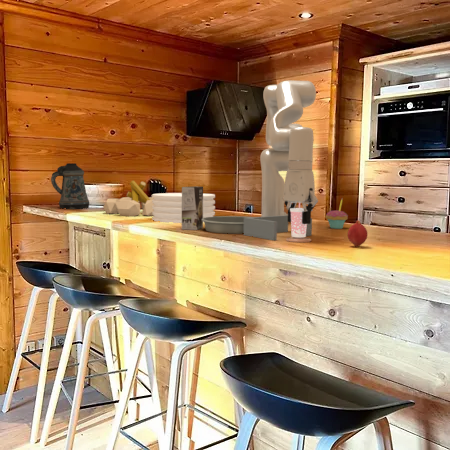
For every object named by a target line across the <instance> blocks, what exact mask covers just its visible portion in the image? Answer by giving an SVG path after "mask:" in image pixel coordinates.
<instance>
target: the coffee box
mask: <svg viewBox="0 0 450 450" xmlns="http://www.w3.org/2000/svg"><path fill="white" fill-rule="evenodd" d="M181 193H182V223H181V230H187V231H188V230H189V231H190V230H191V231H199V230H200V229H203V228H204V222H203V221H202V218H203V194H204V186H182V187H181Z"/></svg>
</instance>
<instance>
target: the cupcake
mask: <svg viewBox="0 0 450 450" xmlns="http://www.w3.org/2000/svg"><path fill="white" fill-rule="evenodd" d="M342 205H343V197H342V198H341V200H340V203H339V208H338V210H337V209H336V210H330V211H328V212H327V213H326V214H325V219H326V220H327V222H328V224H329V228H330V229H334V230H335V229H336V230H337V229H338V230H341V229H343V227H344V225H345V222H346V220H347V221H348V217H349V215H348V214H347V213H346V212H345V211H343V210H342Z"/></svg>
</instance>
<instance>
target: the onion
mask: <svg viewBox="0 0 450 450" xmlns="http://www.w3.org/2000/svg"><path fill="white" fill-rule="evenodd" d="M347 238H348V240H349V242H351V244H353V246H355V247H356V248H357V247H358V248H359V247H361V246H362V245H363V244H364V243H365V242H366V241H367V239H368V230H367V228H366V226H364V225H363V224H362V223H361V221H360V220H356V221H355V223H353V224H352V225H350V227H349V229H348V231H347Z"/></svg>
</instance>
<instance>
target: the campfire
mask: <svg viewBox="0 0 450 450" xmlns="http://www.w3.org/2000/svg"><path fill="white" fill-rule="evenodd" d="M129 185H130V188H131V191H127V193H126V196H125V197H123V196H122V197H121V198H107V199H106V201H105V202H104V205H102V208H103V209H104V211H105V212H106V214H107V215H117V213H118V214H119V216H120V217H137V216H138V215H142V216H146V217H147V216H148V217H154V215H152V211H154V209H152V206H153V205H154V204H153V203H152V200H154V198H153V197H152V196H150V197H149V196H148V195H147V194H146V193H145V191H144V189H145V187H146V185H147V184H146V181H145V182H144V181H141V182H140V183H139V185H138V183H137V182H136V181H135V180H134V179H133V180H131V181H130V182H129ZM141 210H142V212H141Z"/></svg>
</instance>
